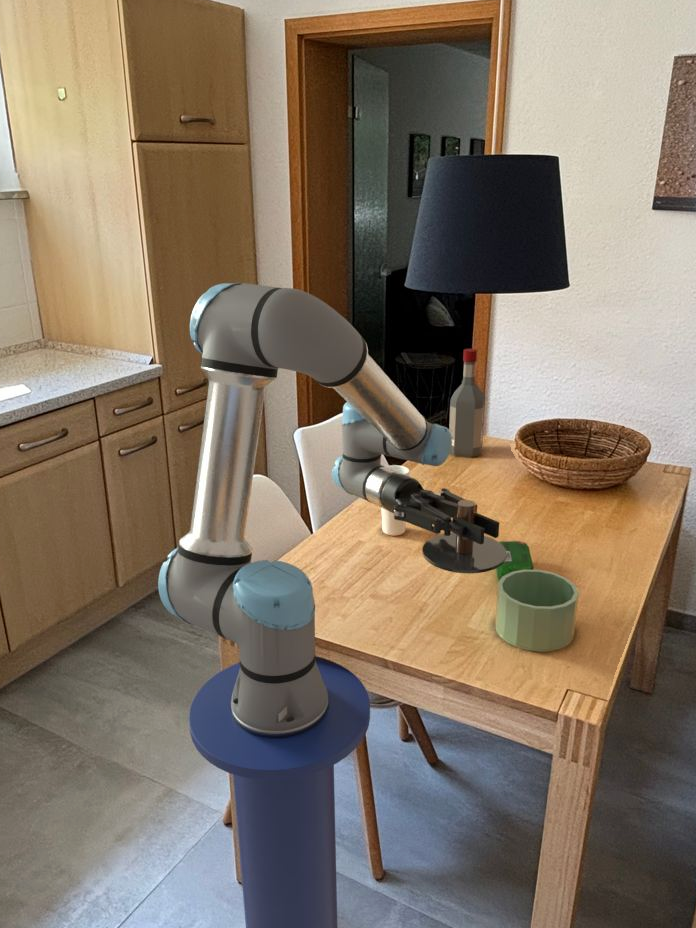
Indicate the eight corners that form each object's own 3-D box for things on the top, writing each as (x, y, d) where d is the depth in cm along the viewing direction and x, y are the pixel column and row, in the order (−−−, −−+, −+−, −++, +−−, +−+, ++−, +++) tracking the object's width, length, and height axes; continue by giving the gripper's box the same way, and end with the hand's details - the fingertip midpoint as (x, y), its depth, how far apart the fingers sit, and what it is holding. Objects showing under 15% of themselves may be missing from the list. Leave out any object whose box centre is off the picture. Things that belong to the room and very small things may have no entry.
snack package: (496, 593, 150) (498, 570, 148) (492, 556, 164) (494, 534, 162) (534, 596, 149) (536, 572, 147) (526, 558, 163) (528, 535, 161)
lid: (409, 565, 132) (410, 511, 128) (439, 532, 144) (441, 481, 141) (492, 584, 126) (495, 527, 122) (515, 547, 138) (520, 495, 135)
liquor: (482, 448, 228) (488, 347, 217) (479, 458, 220) (484, 354, 209) (452, 445, 230) (456, 345, 219) (447, 455, 222) (451, 352, 211)
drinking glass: (375, 536, 174) (375, 474, 168) (383, 523, 180) (383, 463, 174) (404, 539, 172) (405, 477, 166) (411, 527, 178) (412, 466, 172)
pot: (485, 639, 135) (488, 597, 132) (507, 603, 146) (510, 563, 143) (563, 659, 129) (568, 616, 126) (580, 620, 141) (585, 579, 137)
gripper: (424, 499, 152) (519, 539, 135) (362, 522, 142) (456, 568, 126) (425, 463, 149) (522, 500, 132) (362, 484, 140) (457, 526, 123)
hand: (489, 533), depth 129 cm, fingers closed on lid, 3 cm apart
